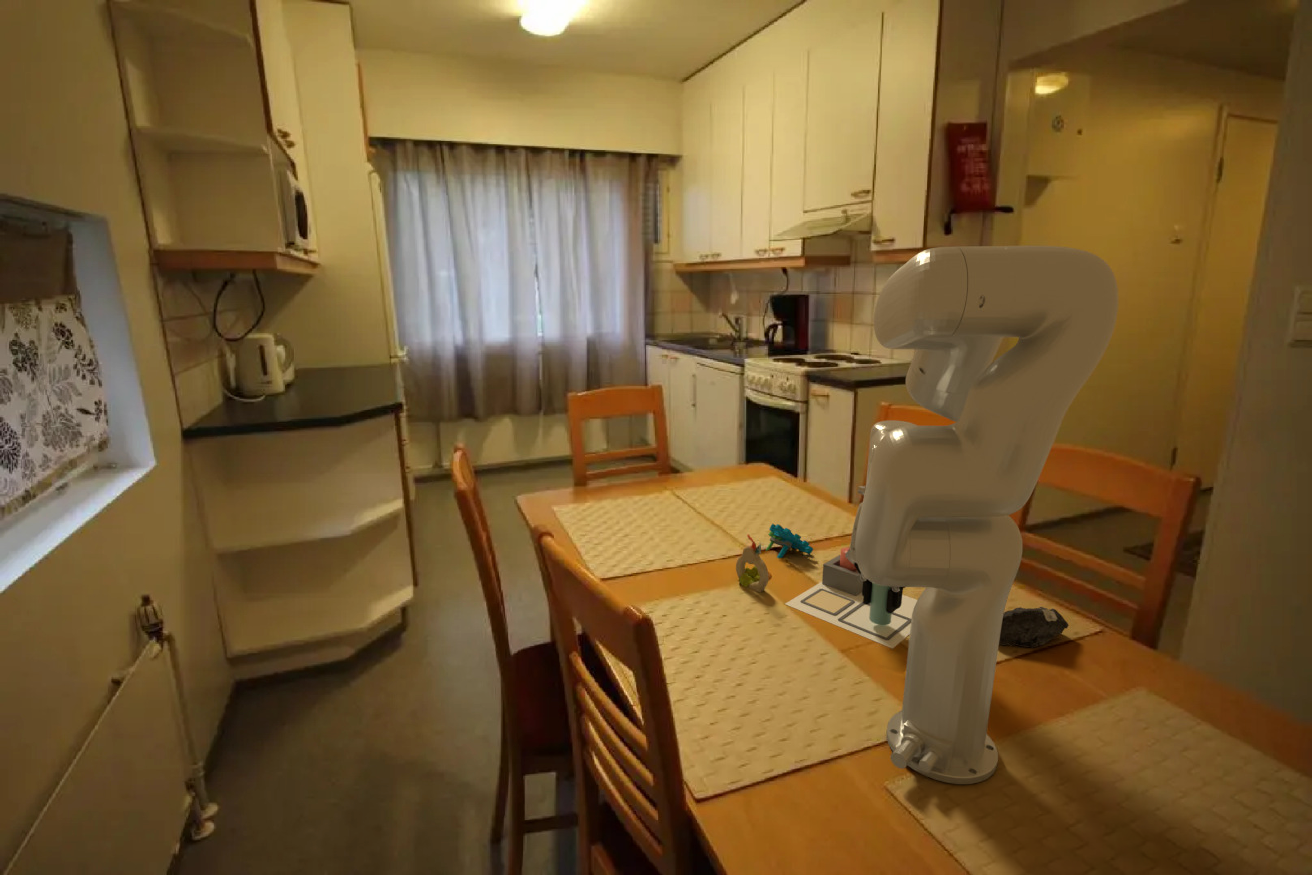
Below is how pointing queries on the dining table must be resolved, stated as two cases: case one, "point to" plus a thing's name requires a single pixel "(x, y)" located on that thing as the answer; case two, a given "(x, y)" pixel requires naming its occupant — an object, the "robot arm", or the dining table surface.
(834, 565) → the button collar
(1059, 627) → the rock
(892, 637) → the cream board with squares
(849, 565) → the button
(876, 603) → the cylinder
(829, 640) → the dining table surface
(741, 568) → the grey ring ornament
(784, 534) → the toy dinosaur
